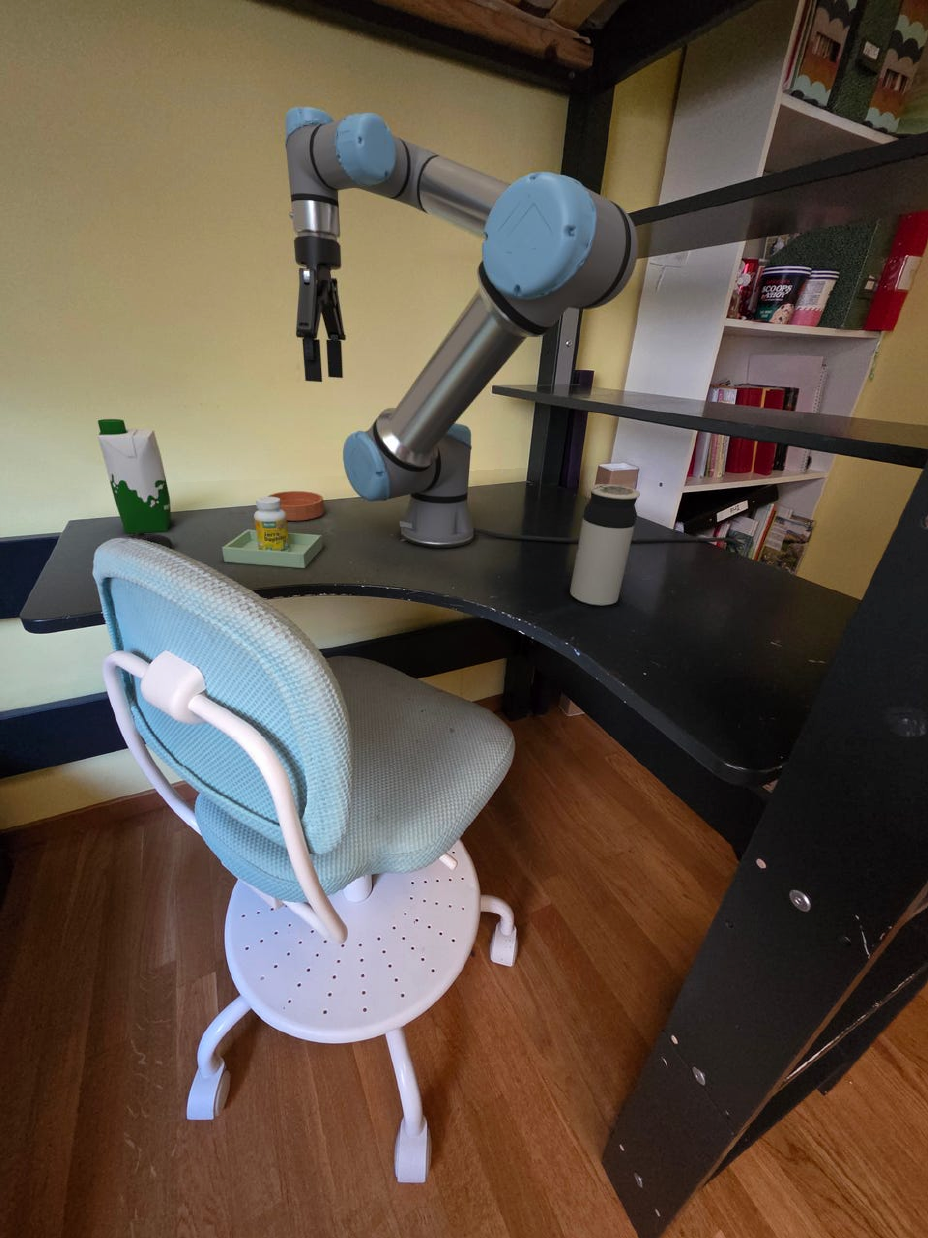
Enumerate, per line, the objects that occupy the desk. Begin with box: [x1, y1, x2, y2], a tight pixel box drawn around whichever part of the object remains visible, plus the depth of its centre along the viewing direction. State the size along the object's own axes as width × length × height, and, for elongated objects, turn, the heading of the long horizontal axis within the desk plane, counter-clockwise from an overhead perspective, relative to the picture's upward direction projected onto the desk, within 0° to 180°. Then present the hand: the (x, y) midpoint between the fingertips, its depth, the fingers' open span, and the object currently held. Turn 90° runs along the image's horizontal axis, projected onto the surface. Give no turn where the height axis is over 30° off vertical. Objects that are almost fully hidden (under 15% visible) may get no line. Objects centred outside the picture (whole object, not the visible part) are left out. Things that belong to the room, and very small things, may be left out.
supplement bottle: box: [253, 496, 290, 552], centre depth 91 cm, size 5×5×10 cm
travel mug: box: [569, 483, 641, 606], centre depth 82 cm, size 8×8×18 cm
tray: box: [221, 529, 323, 569], centre depth 93 cm, size 14×10×3 cm
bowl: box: [266, 490, 325, 522], centre depth 115 cm, size 12×12×4 cm
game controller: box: [126, 532, 173, 549], centre depth 89 cm, size 10×5×6 cm
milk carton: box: [97, 418, 172, 534], centre depth 97 cm, size 9×9×20 cm
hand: (325, 379), depth 95 cm, fingers open, 13 cm apart
